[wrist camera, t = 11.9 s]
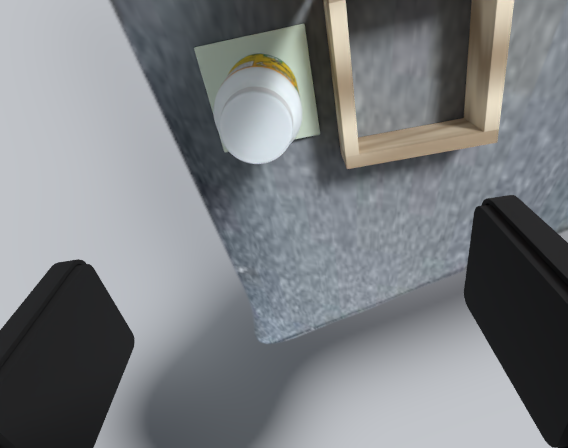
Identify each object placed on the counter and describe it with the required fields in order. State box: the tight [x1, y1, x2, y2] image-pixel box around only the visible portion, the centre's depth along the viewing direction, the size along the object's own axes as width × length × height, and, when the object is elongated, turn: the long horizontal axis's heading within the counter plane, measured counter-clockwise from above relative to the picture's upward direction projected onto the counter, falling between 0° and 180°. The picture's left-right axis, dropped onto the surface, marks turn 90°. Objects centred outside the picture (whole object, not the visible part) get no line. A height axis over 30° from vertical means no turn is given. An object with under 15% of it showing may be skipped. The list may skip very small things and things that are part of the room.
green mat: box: [194, 24, 320, 153], centre depth 28 cm, size 8×8×1 cm
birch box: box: [323, 0, 514, 169], centre depth 26 cm, size 12×11×4 cm
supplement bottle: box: [214, 53, 302, 164], centre depth 24 cm, size 5×5×10 cm
